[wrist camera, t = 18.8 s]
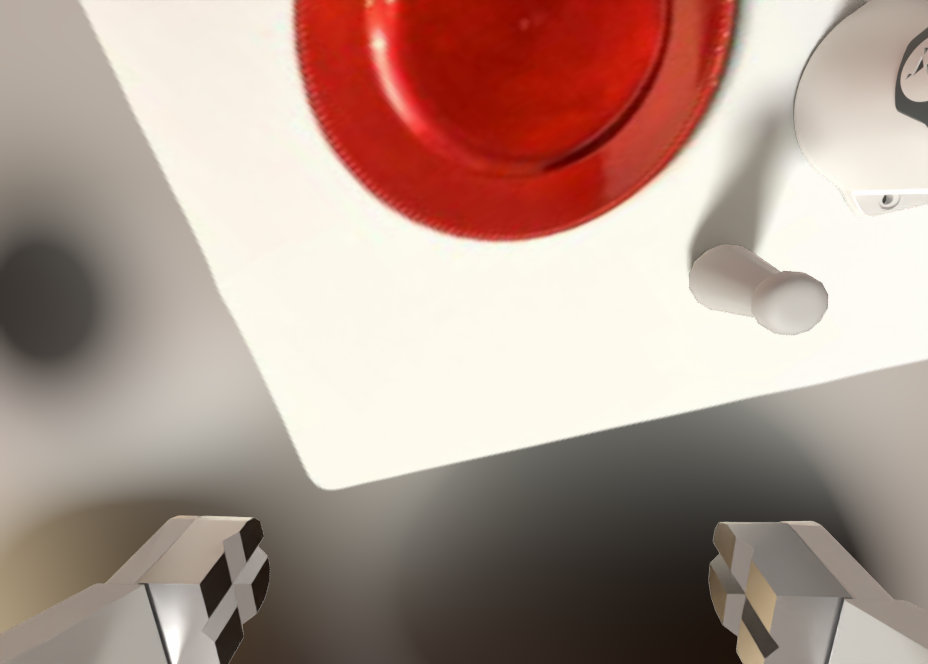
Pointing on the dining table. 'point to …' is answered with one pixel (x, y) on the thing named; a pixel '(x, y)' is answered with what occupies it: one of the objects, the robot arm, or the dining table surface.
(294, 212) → the dining table surface
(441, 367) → the dining table surface
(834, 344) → the dining table surface
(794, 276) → the salt shaker
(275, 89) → the dining table surface
